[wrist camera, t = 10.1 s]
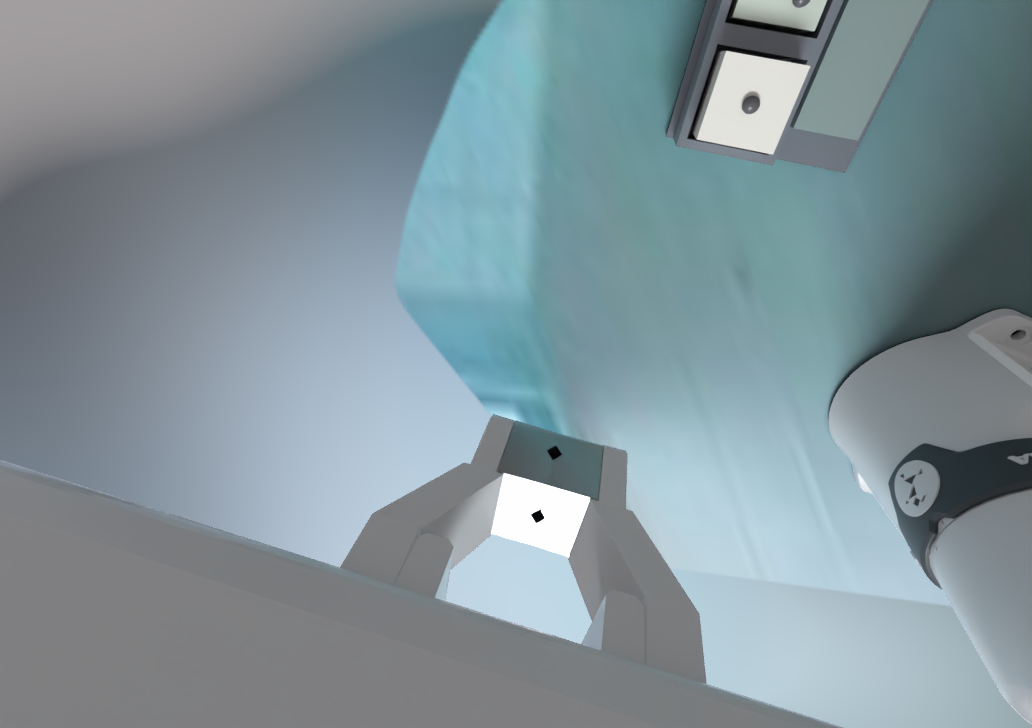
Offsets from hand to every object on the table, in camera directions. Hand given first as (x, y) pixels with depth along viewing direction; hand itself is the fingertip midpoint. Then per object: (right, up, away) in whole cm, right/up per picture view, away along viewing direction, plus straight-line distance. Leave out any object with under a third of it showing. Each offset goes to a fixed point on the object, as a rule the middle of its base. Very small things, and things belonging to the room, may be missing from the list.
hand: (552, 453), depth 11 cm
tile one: (+13, +18, +19) cm, 29 cm away
